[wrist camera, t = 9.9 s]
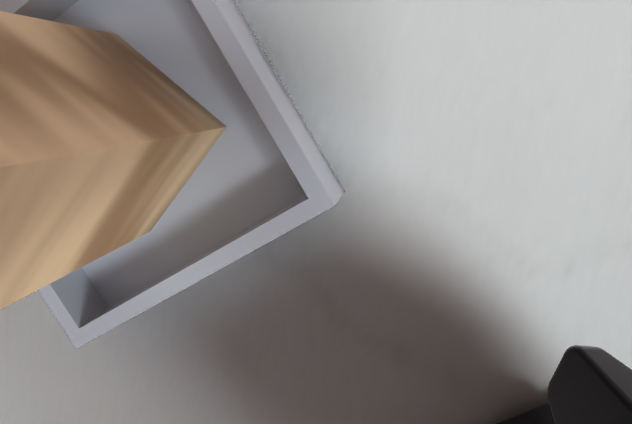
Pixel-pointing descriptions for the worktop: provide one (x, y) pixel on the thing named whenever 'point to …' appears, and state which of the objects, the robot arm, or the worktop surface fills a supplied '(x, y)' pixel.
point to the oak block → (85, 148)
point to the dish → (212, 173)
